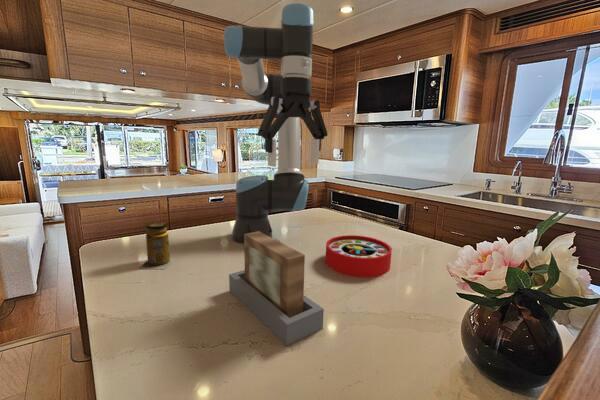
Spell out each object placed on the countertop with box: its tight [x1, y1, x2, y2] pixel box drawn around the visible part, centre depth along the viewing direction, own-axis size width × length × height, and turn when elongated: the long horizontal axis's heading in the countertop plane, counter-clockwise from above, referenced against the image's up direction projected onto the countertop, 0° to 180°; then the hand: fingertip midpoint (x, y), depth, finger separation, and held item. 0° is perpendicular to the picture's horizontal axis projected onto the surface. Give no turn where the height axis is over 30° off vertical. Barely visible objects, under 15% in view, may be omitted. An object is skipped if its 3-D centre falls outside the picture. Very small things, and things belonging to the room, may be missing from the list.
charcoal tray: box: [228, 269, 325, 347], centre depth 69 cm, size 25×9×4 cm, turn 38°
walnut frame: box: [243, 231, 306, 318], centre depth 67 cm, size 18×4×14 cm, turn 38°
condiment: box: [138, 221, 176, 270], centre depth 90 cm, size 7×8×12 cm
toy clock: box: [325, 234, 393, 278], centre depth 94 cm, size 20×6×20 cm
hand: (294, 164), depth 79 cm, fingers open, 13 cm apart
